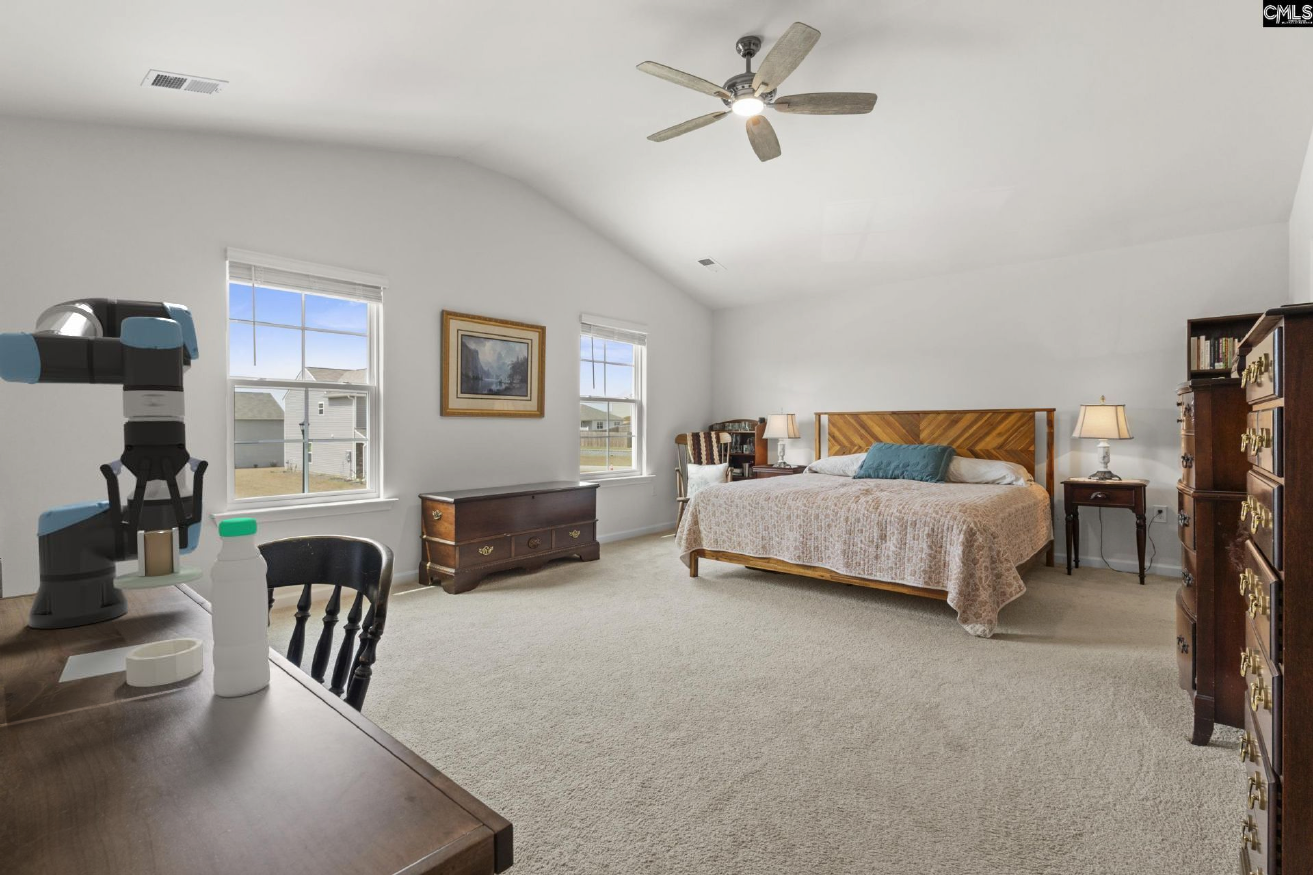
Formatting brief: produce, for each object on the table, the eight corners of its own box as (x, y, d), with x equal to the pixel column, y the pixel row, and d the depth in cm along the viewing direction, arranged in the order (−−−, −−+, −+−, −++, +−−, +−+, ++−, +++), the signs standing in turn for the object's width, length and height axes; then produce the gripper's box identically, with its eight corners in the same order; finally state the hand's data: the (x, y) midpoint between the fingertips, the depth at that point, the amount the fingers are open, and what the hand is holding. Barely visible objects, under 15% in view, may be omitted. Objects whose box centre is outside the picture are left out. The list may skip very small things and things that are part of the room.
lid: (116, 579, 103) (114, 531, 103) (201, 569, 109) (200, 524, 109) (110, 593, 94) (109, 540, 94) (204, 581, 100) (203, 532, 100)
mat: (69, 658, 110) (69, 656, 110) (173, 641, 119) (173, 639, 119) (58, 684, 99) (58, 682, 99) (173, 663, 108) (173, 661, 108)
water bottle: (203, 693, 96) (198, 521, 95) (252, 676, 102) (247, 514, 101) (231, 702, 92) (226, 524, 92) (280, 684, 99) (276, 517, 98)
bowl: (128, 674, 103) (127, 646, 103) (201, 660, 109) (201, 634, 109) (125, 694, 96) (124, 663, 95) (204, 678, 101) (203, 649, 101)
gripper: (80, 420, 93) (85, 585, 94) (221, 419, 103) (225, 568, 104) (86, 421, 99) (91, 576, 100) (218, 420, 109) (222, 561, 110)
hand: (159, 572), depth 102 cm, fingers closed on lid, 3 cm apart
